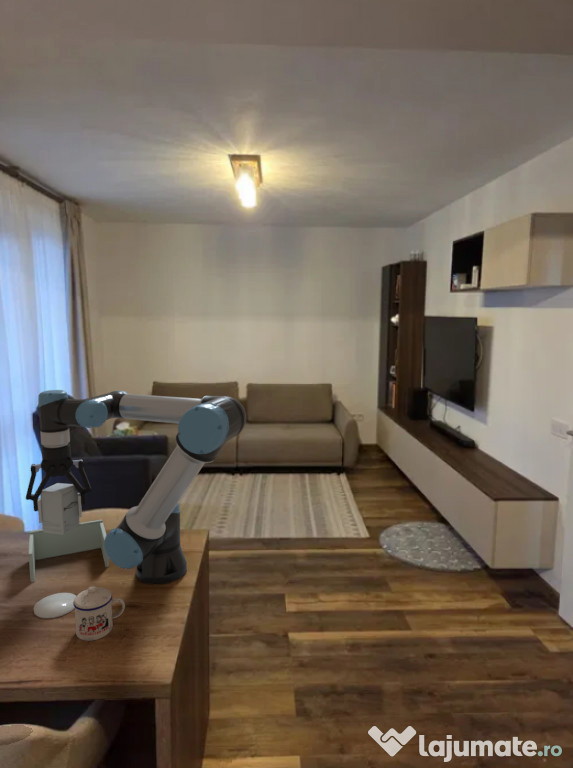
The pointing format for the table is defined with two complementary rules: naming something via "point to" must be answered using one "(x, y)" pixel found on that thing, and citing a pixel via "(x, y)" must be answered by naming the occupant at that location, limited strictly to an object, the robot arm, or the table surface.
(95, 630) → the teacup with lid
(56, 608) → the coaster
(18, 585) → the table surface
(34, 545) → the three-sided green enclosure
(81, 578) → the table surface
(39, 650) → the table surface
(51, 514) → the supplement box
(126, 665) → the table surface
